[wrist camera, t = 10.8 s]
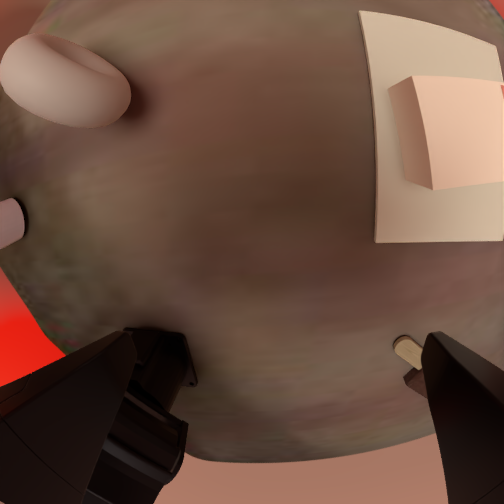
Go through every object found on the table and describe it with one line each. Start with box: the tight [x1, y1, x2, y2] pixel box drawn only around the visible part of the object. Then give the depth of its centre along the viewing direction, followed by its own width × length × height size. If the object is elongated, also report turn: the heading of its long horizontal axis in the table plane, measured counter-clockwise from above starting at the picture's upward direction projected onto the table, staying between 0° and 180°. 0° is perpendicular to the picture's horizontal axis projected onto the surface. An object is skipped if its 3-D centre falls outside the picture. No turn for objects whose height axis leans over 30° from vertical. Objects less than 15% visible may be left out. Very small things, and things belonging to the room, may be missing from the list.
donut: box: [0, 33, 131, 129], centre depth 12 cm, size 10×4×10 cm, turn 47°
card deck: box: [388, 76, 504, 190], centre depth 12 cm, size 9×6×4 cm, turn 104°
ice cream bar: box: [394, 336, 428, 399], centre depth 21 cm, size 5×2×15 cm
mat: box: [358, 11, 504, 243], centre depth 14 cm, size 16×12×1 cm
